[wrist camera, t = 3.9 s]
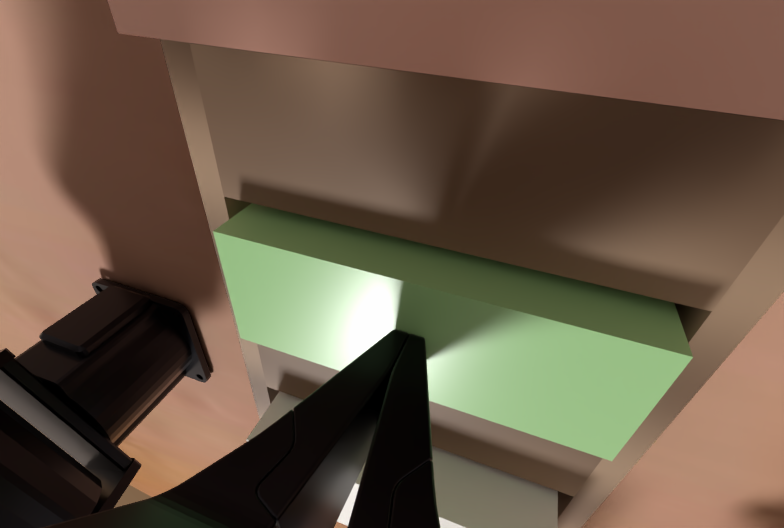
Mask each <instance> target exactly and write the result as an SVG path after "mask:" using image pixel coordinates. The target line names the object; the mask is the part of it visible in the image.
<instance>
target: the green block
mask: <svg viewBox="0 0 784 528" xmlns="http://www.w3.org/2000/svg"><path fill="white" fill-rule="evenodd" d="M213 234H214V238H215V241H216V245H217V249H218V253H219V257H220V261H221V265H222V269H223V272H224V276H225V280H226V284H227V288H228V292H229V296H230V299H231V303H232V307H233V311H234V315H235V319H236V323H237V327H238V330H239V334H240V338H242V339H245V340H248V341H251V342H254V343H257V344H260V345H263V346H266V347H269V348H272V349H275V350H278V351H281V352H284V353H287V354H290V355H293V356H296V357H299V358H302V359H305V360H308V361H311V362H314V363H317V364H320V365H323V366H326V367H329V368H332V369H335V370H338V371H341V370H342V369H344V368H345V367H346V366H347V365H349V364H350V363H351V362H352V361H354V360H355V359H356V358H358V357H359V356H360V355H361V354H363V353H364V352H365V351H366V350H368V349H369V348H370V347H372V346H373V345H374V344H375V343H377V342H378V341H379V340H380V339H382V338H383V337H384V336H386V335H387V334H388V333H389V332H391V331H392V330H394V329H397V330H400V331H404V332H407V333H408V334H409V335H410V334H414V335H417V336H421V337H424V338H425V343H426V359H427V375H428V390H429V401H432V402H435V403H438V404H441V405H444V406H447V407H450V408H453V409H456V410H459V411H462V412H465V413H468V414H471V415H474V416H477V417H480V418H483V419H486V420H489V421H492V422H495V423H498V424H501V425H504V426H507V427H510V428H513V429H516V430H519V431H522V432H525V433H528V434H531V435H534V436H537V437H540V438H543V439H546V440H549V441H552V442H555V443H558V444H561V445H564V446H567V447H570V448H573V449H576V450H579V451H582V452H585V453H588V454H591V455H594V456H598V457H601V458H604V459H607V460H610V461H613V459H614V458H615V457H616V456H617V454H618V453H619V452H620V450H621V449H622V448H623V447H624V445H625V444H626V443H627V441H628V440H629V439H630V438H631V436H632V435H633V434H634V433H635V431H636V430H637V429H638V427H639V426H640V425H641V424H642V422H643V421H644V420H645V418H646V417H647V416H648V415H649V413H650V412H651V411H652V409H653V408H654V407H655V406H656V404H657V403H658V402H659V400H660V399H661V398H662V397H663V395H664V394H665V393H666V391H667V390H668V389H669V388H670V386H671V385H672V384H673V382H674V381H675V380H676V379H677V377H678V376H679V375H680V374H681V372H682V371H683V370H684V368H685V367H686V366H687V365H688V363H689V362H690V361H691V359H692V358H693V355H692V352H691V349H690V346H689V344H688V341H687V338H686V335H685V332H684V329H683V326H682V324H681V321H680V318H679V315H678V312H677V309H676V306H675V304H674V302H669V301H665V300H661V299H657V298H652V297H648V296H644V295H640V294H635V293H631V292H627V291H623V290H618V289H614V288H610V287H606V286H601V285H597V284H593V283H589V282H584V281H580V280H576V279H572V278H567V277H563V276H559V275H555V274H550V273H546V272H542V271H538V270H533V269H529V268H525V267H521V266H516V265H512V264H508V263H504V262H499V261H495V260H491V259H487V258H483V257H478V256H474V255H470V254H466V253H461V252H457V251H453V250H449V249H444V248H440V247H436V246H432V245H427V244H423V243H419V242H415V241H410V240H406V239H402V238H398V237H393V236H389V235H385V234H381V233H376V232H372V231H368V230H364V229H359V228H355V227H351V226H347V225H342V224H338V223H334V222H330V221H325V220H321V219H317V218H313V217H308V216H304V215H300V214H296V213H291V212H287V211H283V210H279V209H275V208H270V207H266V206H262V205H258V204H253V203H251V204H250V205H249V206H247V207H246V208H245V209H243V210H242V211H240V212H239V213H238V214H236V215H235V216H233V217H232V218H231V219H229V220H228V221H226V222H225V223H224V224H222V225H221V226H219V227H218V228H217V229H215V230H214V231H213Z"/></svg>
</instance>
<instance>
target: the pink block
mask: <svg viewBox="0 0 784 528" xmlns="http://www.w3.org/2000/svg"><path fill="white" fill-rule="evenodd" d="M107 1H108V4H109V7H110V10H111V14H112V17H113V20H114V23H115V26H116V29H117V32H118V34H125V35H133V36H140V37H148V38H156V39H163V40H171V41H179V42H186V43H194V44H202V45H209V46H217V47H225V48H232V49H240V50H248V51H256V52H263V53H271V54H279V55H286V56H294V57H302V58H309V59H317V60H325V61H332V62H340V63H348V64H355V65H363V66H371V67H378V68H386V69H394V70H401V71H409V72H417V73H424V74H432V75H440V76H448V77H455V78H463V79H471V80H478V81H486V82H494V83H501V84H509V85H517V86H524V87H532V88H540V89H547V90H555V91H563V92H570V93H578V94H586V95H593V96H601V97H609V98H616V99H624V100H632V101H639V102H647V103H655V104H663V105H670V106H678V107H686V108H693V109H701V110H709V111H716V112H724V113H732V114H739V115H747V116H755V117H762V118H770V119H778V120H784V0H107Z"/></svg>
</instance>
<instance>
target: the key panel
mask: <svg viewBox="0 0 784 528" xmlns="http://www.w3.org/2000/svg"><path fill="white" fill-rule="evenodd" d="M160 41H161V45H162V49H163V53H164V57H165V60H166V64H167V68H168V72H169V76H170V79H171V83H172V87H173V91H174V95H175V98H176V102H177V106H178V110H179V114H180V117H181V121H182V125H183V129H184V133H185V137H186V140H187V144H188V148H189V152H190V156H191V159H192V163H193V167H194V171H195V175H196V178H197V182H198V186H199V190H200V194H201V197H202V201H203V205H204V209H205V213H206V216H207V220H208V224H209V228H210V232H211V235H212V239H213V243H214V247H215V251H216V254H217V258H218V262H219V266H220V270H221V273H222V277H223V281H224V285H225V289H226V293H227V296H228V300H229V304H230V308H231V312H232V315H233V319H234V323H235V327H236V331H237V334H238V338H239V342H240V346H241V350H242V353H243V357H244V361H245V365H246V369H247V372H248V376H249V380H250V384H251V388H252V391H253V395H254V399H255V403H256V407H257V410H258V414H259V418H260V419H261V417H262V416H263V415H264V413H265V412H266V410H267V409H268V407H269V406H270V404H271V403H272V401H273V400H274V399H275V397H276V396H277V394H278V393H279V391H280V392H283V393H286V394H289V395H292V396H294V397H297V398H300V399H303V400H304V399H305V398H307V397H308V396H309V395H310V394H312V393H313V392H314V391H316V390H317V389H318V388H319V387H321V386H322V385H323V384H324V383H326V382H327V381H328V380H330V379H331V378H332V377H333V376H335V375H336V374H337V373H338V372H340V371H338V370H335V369H332V368H329V367H326V366H323V365H320V364H317V363H314V362H311V361H308V360H305V359H302V358H299V357H296V356H293V355H290V354H287V353H284V352H281V351H278V350H275V349H272V348H269V347H266V346H263V345H260V344H257V343H254V342H251V341H248V340H245V339H242V338H240V334H239V330H238V327H237V323H236V319H235V315H234V311H233V307H232V303H231V299H230V296H229V292H228V288H227V284H226V280H225V276H224V272H223V269H222V265H221V261H220V257H219V253H218V249H217V245H216V241H215V238H214V234H213V231H214V230H215V229H217V228H218V227H219V226H221V225H222V224H224V223H225V222H226V221H228V220H229V219H231V218H232V217H233V216H235V215H236V214H238V213H239V212H240V211H242V210H243V209H245V208H246V207H247V206H249V205H250V204H251V203H253V204H258V205H262V206H266V207H270V208H275V209H279V210H283V211H287V212H291V213H296V214H300V215H304V216H308V217H313V218H317V219H321V220H325V221H330V222H334V223H338V224H342V225H347V226H351V227H355V228H359V229H364V230H368V231H372V232H376V233H381V234H385V235H389V236H393V237H398V238H402V239H406V240H410V241H415V242H419V243H423V244H427V245H432V246H436V247H440V248H444V249H449V250H453V251H457V252H461V253H466V254H470V255H474V256H478V257H483V258H487V259H491V260H495V261H499V262H504V263H508V264H512V265H516V266H521V267H525V268H529V269H533V270H538V271H542V272H546V273H550V274H555V275H559V276H563V277H567V278H572V279H576V280H580V281H584V282H589V283H593V284H597V285H601V286H606V287H610V288H614V289H618V290H623V291H627V292H631V293H635V294H640V295H644V296H648V297H652V298H657V299H661V300H665V301H669V302H674V304H675V306H676V309H677V312H678V315H679V318H680V321H681V324H682V326H683V329H684V332H685V335H686V338H687V341H688V344H689V346H690V349H691V352H692V355H693V358H692V359H691V361H690V362H689V363H688V365H687V366H686V367H685V368H684V370H683V371H682V372H681V374H680V375H679V376H678V377H677V379H676V380H675V381H674V382H673V384H672V385H671V386H670V388H669V389H668V390H667V391H666V393H665V394H664V395H663V397H662V398H661V399H660V400H659V402H658V403H657V404H656V406H655V407H654V408H653V409H652V411H651V412H650V413H649V415H648V416H647V417H646V418H645V420H644V421H643V422H642V424H641V425H640V426H639V427H638V429H637V430H636V431H635V433H634V434H633V435H632V436H631V438H630V439H629V440H628V441H627V443H626V444H625V445H624V447H623V448H622V449H621V450H620V452H619V453H618V454H617V456H616V457H615V458H614V459H613V461H610V460H607V459H604V458H601V457H598V456H594V455H591V454H588V453H585V452H582V451H579V450H576V449H573V448H570V447H567V446H564V445H561V444H558V443H555V442H552V441H549V440H546V439H543V438H540V437H537V436H534V435H531V434H528V433H525V432H522V431H519V430H516V429H513V428H510V427H507V426H504V425H501V424H498V423H495V422H492V421H489V420H486V419H483V418H480V417H477V416H474V415H471V414H468V413H465V412H462V411H459V410H456V409H453V408H450V407H447V406H444V405H441V404H438V403H435V402H432V401H429V406H430V422H431V438H432V446H434V447H436V448H439V449H442V450H445V451H448V452H450V453H453V454H456V455H459V456H462V457H464V458H467V459H470V460H473V461H475V462H478V463H481V464H484V465H487V466H489V467H492V468H495V469H498V470H501V471H503V472H506V473H509V474H512V475H514V476H517V477H520V478H523V479H526V480H528V481H531V482H534V483H537V484H540V485H542V486H545V487H548V488H551V489H553V490H556V491H558V528H581V527H582V526H583V525H584V524H585V522H586V521H587V520H588V519H589V518H590V517H591V515H592V514H593V513H594V512H595V511H596V510H597V508H598V507H599V506H600V505H601V504H602V503H603V501H604V500H605V499H606V498H607V497H608V496H609V494H610V493H611V492H612V491H613V490H614V489H615V487H616V486H617V485H618V484H619V483H620V482H621V480H622V479H623V478H624V477H625V476H626V475H627V473H628V472H629V471H630V470H631V469H632V468H633V467H634V465H635V464H636V463H637V462H638V461H639V460H640V458H641V457H642V456H643V455H644V454H645V453H646V451H647V450H648V449H649V448H650V447H651V446H652V444H653V443H654V442H655V441H656V440H657V439H658V437H659V436H660V435H661V434H662V433H663V432H664V430H665V429H666V428H667V427H668V426H669V425H670V423H671V422H672V421H673V420H674V419H675V418H676V416H677V415H678V414H679V413H680V412H681V411H682V409H683V408H684V407H685V406H686V405H687V404H688V402H689V401H690V400H691V399H692V398H693V397H694V395H695V394H696V393H697V392H698V391H699V390H700V388H701V387H702V386H703V385H704V384H705V383H706V382H707V380H708V379H709V378H710V377H711V376H712V375H713V373H714V372H715V371H716V370H717V369H718V368H719V366H720V365H721V364H722V363H723V362H724V361H725V359H726V358H727V357H728V356H729V355H730V354H731V352H732V351H733V350H734V349H735V348H736V347H737V345H738V344H739V343H740V342H741V341H742V340H743V338H744V337H745V336H746V335H747V334H748V333H749V331H750V330H751V329H752V328H753V327H754V326H755V324H756V323H757V322H758V321H759V320H760V319H761V317H762V316H763V315H764V314H765V313H766V312H767V310H768V309H769V308H770V307H771V306H772V305H773V303H774V302H775V301H776V300H777V299H778V298H779V297H780V295H781V294H782V293H783V292H784V120H778V119H770V118H762V117H755V116H747V115H739V114H732V113H724V112H716V111H709V110H701V109H693V108H686V107H678V106H670V105H663V104H655V103H647V102H639V101H632V100H624V99H616V98H609V97H601V96H593V95H586V94H578V93H570V92H563V91H555V90H547V89H540V88H532V87H524V86H517V85H509V84H501V83H494V82H486V81H478V80H471V79H463V78H455V77H448V76H440V75H432V74H424V73H417V72H409V71H401V70H394V69H386V68H378V67H371V66H363V65H355V64H348V63H340V62H332V61H325V60H317V59H309V58H302V57H294V56H286V55H279V54H271V53H263V52H256V51H248V50H240V49H232V48H225V47H217V46H209V45H202V44H194V43H186V42H179V41H171V40H163V39H160Z"/></svg>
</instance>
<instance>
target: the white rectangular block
mask: <svg viewBox="0 0 784 528" xmlns="http://www.w3.org/2000/svg"><path fill="white" fill-rule="evenodd" d="M301 401H303V399H300V398H297V397H294V396H292V395H289V394H286V393H283V392H280V391H279V393H278V394H277V396H276V397H275V399H274V400H273V401H272V403H271V404H270V406H269V407H268V409H267V410H266V412H265V413H264V415H263V416H262V417H261V419H260V420H259V422H258V423H257V425H256V426H255V428H254V429H253V431H252V432H251V434H250V435H249V436H248V438H247V439H246V440H247V441H249V440H250V439H252V438H254V437H255V436H257V435H258V434H260V433H261V432H262V431H264V430H265V429H266V428H268V427H269V426H270V425H272V424H273V423H274V422H276V421H277V420H278V419H280V418H281V417H282V416H283V415H285V414H286V413H287V412H289V411H290V410H293V408H294V407H295V406H296V405H298V404H299V403H300V402H301ZM432 454H433V460H432V462H433V467H434V482H435V492H436V502H437V509H438V516H439V522H440V528H558V491H556V490H553V489H551V488H548V487H545V486H542V485H540V484H537V483H534V482H531V481H528V480H526V479H523V478H520V477H517V476H514V475H512V474H509V473H506V472H503V471H501V470H498V469H495V468H492V467H489V466H487V465H484V464H481V463H478V462H475V461H473V460H470V459H467V458H464V457H462V456H459V455H456V454H453V453H450V452H448V451H445V450H442V449H439V448H436V447H434V446H432ZM365 463H366V461H365ZM365 463H364V465H363V468H362V470H361V472H360V474H359V476H358V478H357V480H356V482H355V484H354V486H353V488H352V491H351V493H350V495H349V497H348V499H347V501H346V503H345V505H344V507H343V509H342V511H341V513H340V516H339V518H338V520H337V522H340V523H342V524H344V525H347V526H348V524H349V520H350V517H351V513H352V510H353V506H354V502H355V499H356V495H357V492H358V488H359V485H360V481H361V477H362V474H363V470H364V467H365Z"/></svg>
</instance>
